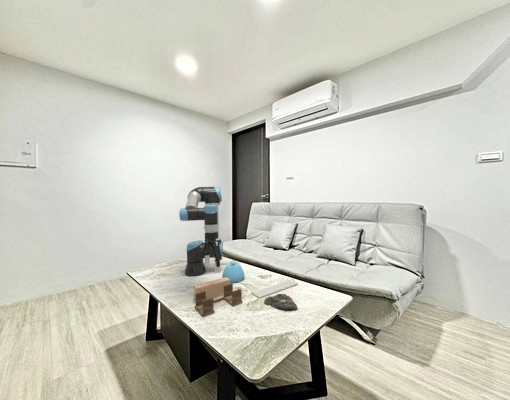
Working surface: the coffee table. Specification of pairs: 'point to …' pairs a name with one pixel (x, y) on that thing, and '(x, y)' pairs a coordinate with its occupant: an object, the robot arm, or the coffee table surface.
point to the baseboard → (274, 289)
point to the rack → (206, 305)
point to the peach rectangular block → (212, 288)
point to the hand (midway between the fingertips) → (212, 269)
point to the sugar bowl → (233, 272)
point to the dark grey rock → (281, 302)
